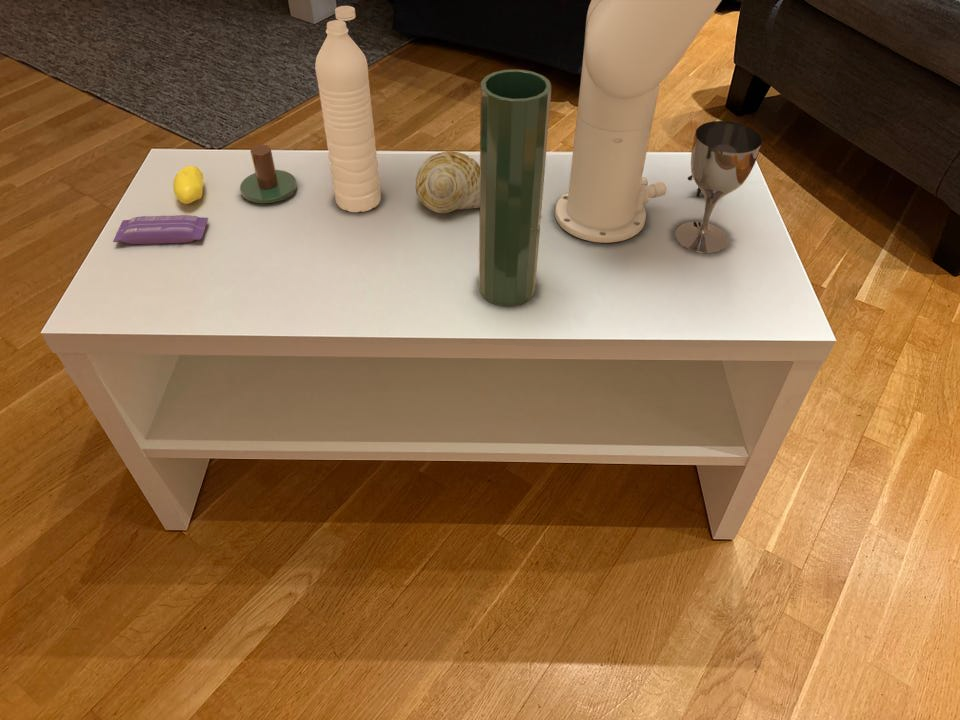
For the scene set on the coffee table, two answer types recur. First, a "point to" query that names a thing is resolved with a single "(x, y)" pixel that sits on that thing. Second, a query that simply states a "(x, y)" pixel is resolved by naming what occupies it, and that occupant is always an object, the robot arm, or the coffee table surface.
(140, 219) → the snack package
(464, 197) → the seashell
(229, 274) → the coffee table surface
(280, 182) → the lid
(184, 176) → the lemon
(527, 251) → the green cylindrical vase
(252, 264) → the coffee table surface
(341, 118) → the water bottle
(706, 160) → the wine glass
